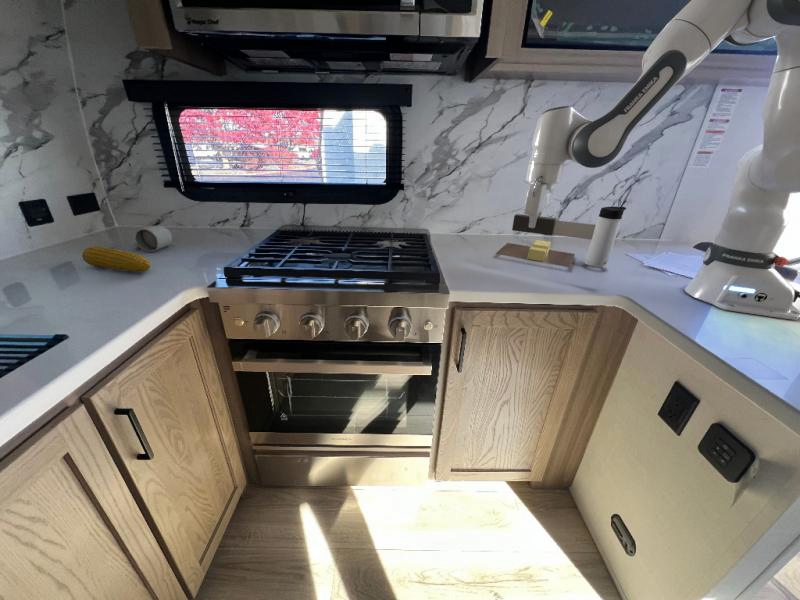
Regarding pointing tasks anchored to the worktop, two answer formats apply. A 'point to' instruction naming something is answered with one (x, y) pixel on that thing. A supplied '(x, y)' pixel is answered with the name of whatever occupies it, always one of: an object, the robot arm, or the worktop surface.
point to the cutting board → (550, 258)
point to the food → (115, 259)
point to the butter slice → (537, 254)
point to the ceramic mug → (153, 238)
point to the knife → (553, 227)
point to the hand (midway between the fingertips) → (533, 226)
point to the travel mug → (604, 236)
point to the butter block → (542, 245)
